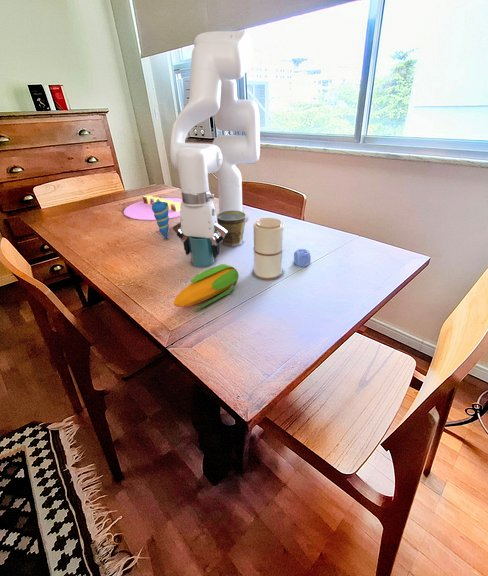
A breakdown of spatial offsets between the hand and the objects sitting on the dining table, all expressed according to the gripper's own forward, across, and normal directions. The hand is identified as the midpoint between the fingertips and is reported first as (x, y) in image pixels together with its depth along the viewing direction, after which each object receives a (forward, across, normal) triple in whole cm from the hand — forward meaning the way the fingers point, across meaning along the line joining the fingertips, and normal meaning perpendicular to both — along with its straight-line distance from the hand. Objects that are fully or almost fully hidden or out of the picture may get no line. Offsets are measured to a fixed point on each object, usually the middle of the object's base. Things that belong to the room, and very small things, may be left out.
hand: (202, 254), depth 91 cm
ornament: (+3, +20, -13) cm, 24 cm away
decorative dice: (+3, -30, -6) cm, 31 cm away
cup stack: (+3, -21, +2) cm, 21 cm away
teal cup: (+3, 0, 0) cm, 3 cm away
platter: (+3, +40, -45) cm, 60 cm away
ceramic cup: (+3, -3, -16) cm, 17 cm away
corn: (+3, -9, +19) cm, 21 cm away
